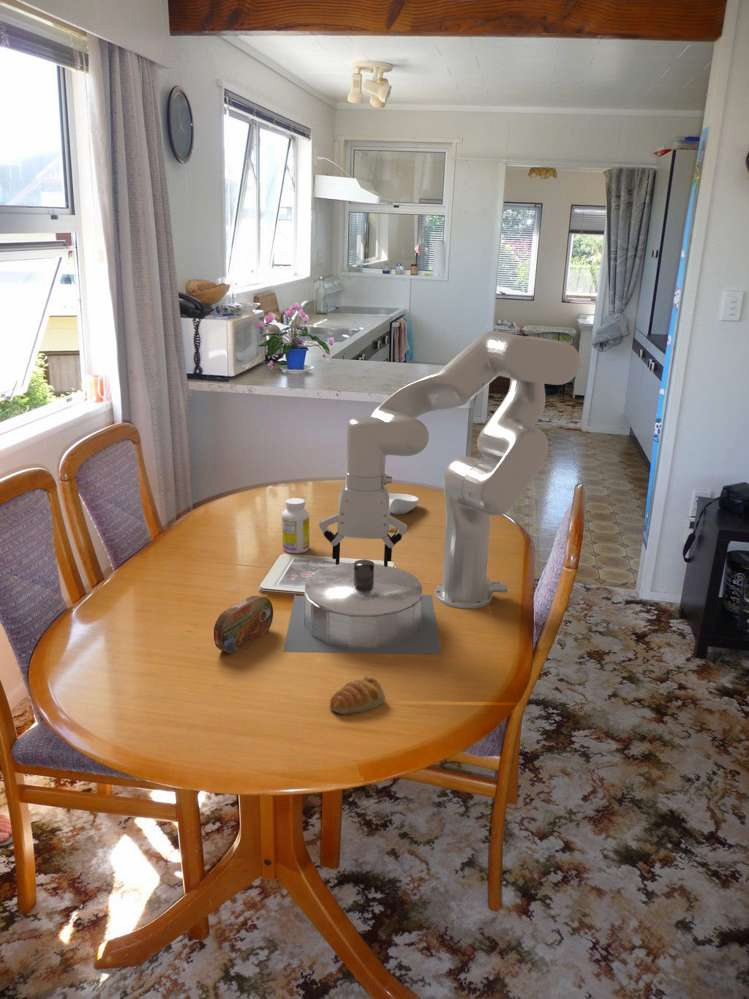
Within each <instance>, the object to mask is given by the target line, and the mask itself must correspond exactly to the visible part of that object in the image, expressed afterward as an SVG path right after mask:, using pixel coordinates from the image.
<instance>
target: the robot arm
mask: <svg viewBox="0 0 749 999" xmlns="http://www.w3.org/2000/svg"><path fill="white" fill-rule="evenodd" d="M580 364H581V357H580V354H579V352H578V350H577V349H576V348H575V346H573V345H572V344H570V343H569V342H565V341H560V340H559V341H558V340H553V339H548V338H543V337H537V336H524V335H519V334H514V333H510V332H504V331H503V332H502V331H497V330H490V331H486V332H484V333H482V334H481V335H479V336H478V337H477V338H476V339H475V340H473V341H472V342H471V343H470V344H469V345H467V346H466V347H465V348H464V349H463V350H461V351H460V352H459V353H458V354H457V355H456V356H455V357H454V358H452V359H451V360H450V361H449V362H448V363H447V364H445V366H443V367H442V368H441V369H439V370H438V371H437V372H435V373H432V374H430V375H427V376H424V377H423V378H421V379H418V380H416V381H414V382H411V383H409V384H407V385H405V386H404V387H401V388H400V389H398V390H397V391H395V392H394V393H393V394H392V395H390V396H389V397H388V398H386V399H385V400H384V401H383V402H382V403H380V404H379V406H377V407H376V408H375V410H374V411H373V412H372V414H371V415H370V416H367V415H365V416H361V415H360V416H356V417H352V418H351V419H350V420H349V421H348V424H347V428H346V429H347V432H346V436H347V437H346V463H345V484H343V485H341V488H340V493H339V498H338V499H339V500H338V509H337V513H336V514H335V513H334V514H333V515H331V516H329V517H326V518H324V519H322V520H319V523H318V526H319V529H320V531H321V532H322V533H323V536H324V537H325V539H326V540H327V541H328V542H329V543H330V544H331V546H332V554H331V555H332V557H331V559H332V560H335V566H338V565H340V561H341V560H340V557H341V555H340V554H341V541H342V540H343V539H344V538H345V539H346V538H347V539H369V540H372V539H373V540H382V541H383V543H384V547H383V548H384V549H383V565H384V566H385V567H388V565H389V564H388V563H389V562H392V555H393V554H392V553H393V548H394V546H395V545H396V544H397V543H398V542H400V541H401V540H402V538H403V537H404V535H405V533H406V532H407V530H408V525H407V523H404V522H403V521H401V520H399V519H397V518H395V517H393V516H392V515H391V514H390V515H389V494H390V493H389V488H388V486H387V484H392V483H393V476H391V475H387V474H386V460H387V459H386V458H387V456H396V457H397V456H398V457H411V456H416V455H418V454H420V453H421V452H423V451H424V450H425V449H426V447H427V446H428V443H429V440H430V434H429V430H428V428H427V426H426V425H425V423H423V422H422V421H421V420H419V419H417V418H418V417H420V416H422V415H424V414H427V413H430V412H433V411H440V410H448V409H453V408H458V407H462V406H465V405H467V404H468V403H469V402H470V401H471V400H473V399H474V398H475V397H476V396H477V395H478V394H479V393H480V392H482V391H483V389H485V388H486V387H488V385H490V384H491V383H492V382H493V381H494V380H495V379H496V378H498V377H502V378H508V379H510V381H509V389H508V391H507V394H506V395H505V397H504V398H503V400H502V402H501V403H500V405H499V406H498V407H497V408H496V410H495V411H494V413H493V414H492V416H491V417H490V418H489V420H488V421H487V423H486V424H485V425H484V426H483V428H482V430H481V431H480V433H479V435H478V437H477V441H476V442H477V443H476V446H477V449H478V451H479V453H480V454H481V455H482V456H483V457H485V458H487V459H488V460H491V461H492V462H494V463H495V462H496V463H497V464H496V466H495V465H493V464H491V463H488V462H486V461H484V460H480V459H479V458H475V457H472V456H460V457H457V458H455V459H453V460H452V461H450V462H449V464H448V465H447V467H446V468H445V470H444V473H443V478H442V480H443V481H442V488H443V495H444V503H445V524H444V525H445V527H444V528H445V529H444V546H443V562H442V563H443V564H442V583H441V584H438V585H437V586H436V587H435V589H434V597H435V599H436V600H437V601H438V602H440V604H443V605H446V606H448V607H452V608H457V609H465V610H466V609H471V610H472V609H477V608H478V609H479V608H482V607H485V606H487V605H489V604H490V603H491V602H492V600H493V593H503V594H505V593H506V594H507V593H508V584H507V583H501V581H500V580H497V579H496V580H495V579H494V580H490V579H489V578H488V576H487V573H488V572H487V571H488V562H489V561H488V560H489V544H490V533H491V532H490V531H491V517H490V516H492V517H493V516H496V517H497V516H502V515H504V514H507V513H508V512H509V511H511V509H513V508H514V506H515V505H516V504H518V502H519V500H520V499H521V498H522V496H523V495H524V493H525V492H526V490H527V489H528V487H529V486H530V485H531V484H532V482H533V481H534V479H535V478H536V476H537V474H538V473H539V472H540V470H541V469H542V467H543V466H544V465H545V462H546V459H547V456H548V453H549V442H548V438H547V436H546V434H545V432H543V431H542V430H541V429H539V428H538V427H536V424H537V422H538V421H539V420H540V417H542V415H543V413H544V410H545V407H546V389H545V384H546V385H553V386H554V385H556V386H559V385H565V384H567V383H569V382H571V380H573V379H574V378H575V377H576V375H577V374H578V372H579V371H580V366H581V365H580ZM335 523H337V524H336V526H337V531H336V532H335V533H333V532H332V531H331V530H330V528H329V526H331V525H333V524H335ZM389 524H390V526H392V527H394V528H397V531H396V532H395V533H394V534H392V535H390V534H389V533H390V531H389Z"/></svg>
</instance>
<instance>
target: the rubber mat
mask: <svg viewBox="0 0 749 999" xmlns="http://www.w3.org/2000/svg"><path fill="white" fill-rule="evenodd" d="M422 595H423V607H422V627H421V628H420V630H419V631H418V632H417V634H416V635H415V636H414V638H412V639H410V640H408V641H406V642H404V643H402V644H400V645H398V646H393V647H387V648H382V649H377V650H350V649H346V648H341V647H337V646H333V645H328V644H326V643H324V642H322V641H321V640H319V639H317V638H315V637H312V636H311V634H310V632H309V631H308V630H307V628H306V627H305V626H304V596H296V595H295V594H294V597H293V601H292V607H291V612H290V617H289V621H288V622H289V623H288V627H287V632H286V635H285V641H284V648H283V653H286V652H287V653H328V654H329V653H336V654H337V653H341V654H345V653H346V654H350V653H351V654H391V655H392V654H396V655H397V654H399V655H401V654H402V655H404V654H405V655H407V654H408V655H442V649H441V645H440V643H441V642H440V638H439V633H438V627H437V619H436V615H435V614H436V613H435V608H434V601H433V597H432V595H431V594H422Z"/></svg>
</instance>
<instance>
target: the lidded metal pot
mask: <svg viewBox="0 0 749 999" xmlns="http://www.w3.org/2000/svg"><path fill="white" fill-rule="evenodd" d="M303 593H304V626H305V627H306V628H307V630H308V631H309V632H310V634H311V636H312V637H315V638H317V639H319V640H321V641H322V642H324V643H326V644H328V645H333V646H337V647H341V648H346V649H350V650H377V649H382V648H387V647H393V646H398V645H400V644H402V643H404V642H406V641H408V640H410V639H412V638H414V636H415V635H416V634H417V632H418V631H419V630H420V628H421V627H422V607H423V595H424V594H423V587H422V584H421V581H420V580H419V579H418V578H417V577H415V576H414V575H413V574H411V573H409V572H407V571H405V570H403V569H400V568H397V567H393V566H390V565H389V566H388V567H385V566H384V564H379V563H374V561H372V560H369V559H359V560H356V561H354V563H344V564H338V565H334V566H331V567H326V568H324V569H321V570H319V571H317V572H315V573H314V574H312V575H311V576H310V577H309V578H308V579H307V580H306V582H305V584H304V592H303Z"/></svg>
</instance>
